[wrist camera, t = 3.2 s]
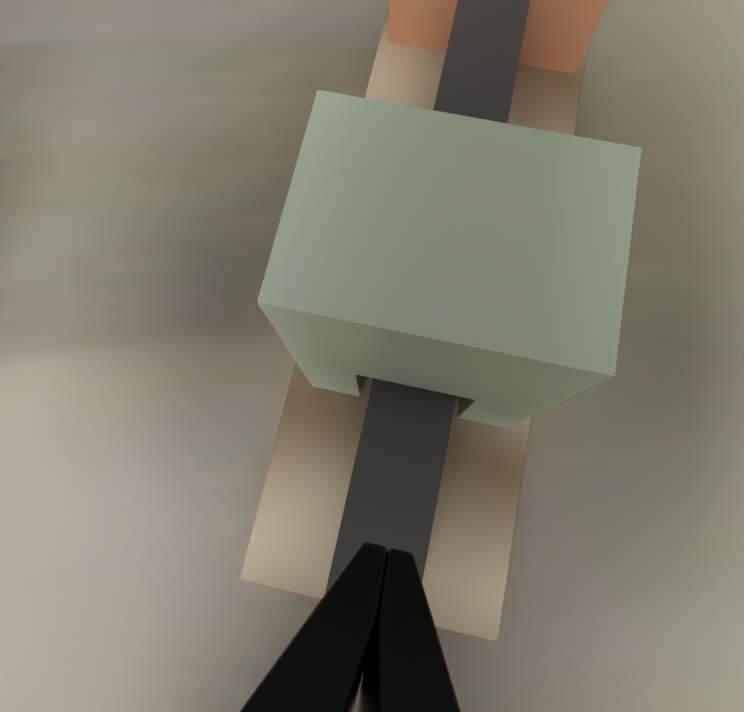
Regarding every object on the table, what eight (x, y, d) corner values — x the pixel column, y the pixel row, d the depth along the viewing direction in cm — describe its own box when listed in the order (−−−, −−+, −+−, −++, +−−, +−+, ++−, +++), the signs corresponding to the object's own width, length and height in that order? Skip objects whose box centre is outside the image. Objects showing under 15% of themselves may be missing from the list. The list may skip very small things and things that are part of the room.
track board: (486, 627, 16) (496, 641, 14) (252, 571, 16) (239, 579, 15) (579, 34, 20) (594, -1, 19) (397, 4, 21) (398, -32, 19)
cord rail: (403, 618, 14) (409, 652, 11) (329, 601, 14) (316, 629, 12) (516, 22, 19) (541, -64, 16) (459, 12, 19) (474, -74, 16)
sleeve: (506, 428, 15) (615, 376, 8) (312, 386, 16) (256, 301, 9) (527, 296, 16) (641, 147, 9) (343, 259, 16) (317, 89, 9)
